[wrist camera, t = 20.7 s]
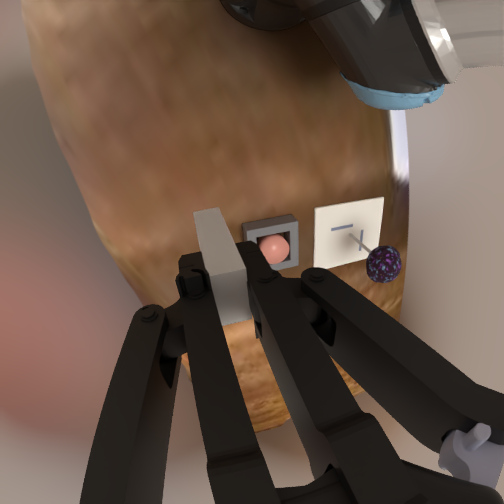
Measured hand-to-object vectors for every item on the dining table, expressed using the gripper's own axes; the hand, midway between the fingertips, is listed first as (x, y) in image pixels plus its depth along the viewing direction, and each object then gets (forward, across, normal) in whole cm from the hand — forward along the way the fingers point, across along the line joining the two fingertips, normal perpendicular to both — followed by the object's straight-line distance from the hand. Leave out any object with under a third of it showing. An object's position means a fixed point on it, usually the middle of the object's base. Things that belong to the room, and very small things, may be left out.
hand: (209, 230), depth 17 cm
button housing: (+29, +12, -19) cm, 37 cm away
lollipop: (+29, +29, -21) cm, 46 cm away
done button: (+29, +12, -19) cm, 36 cm away
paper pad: (+29, +29, -21) cm, 46 cm away
